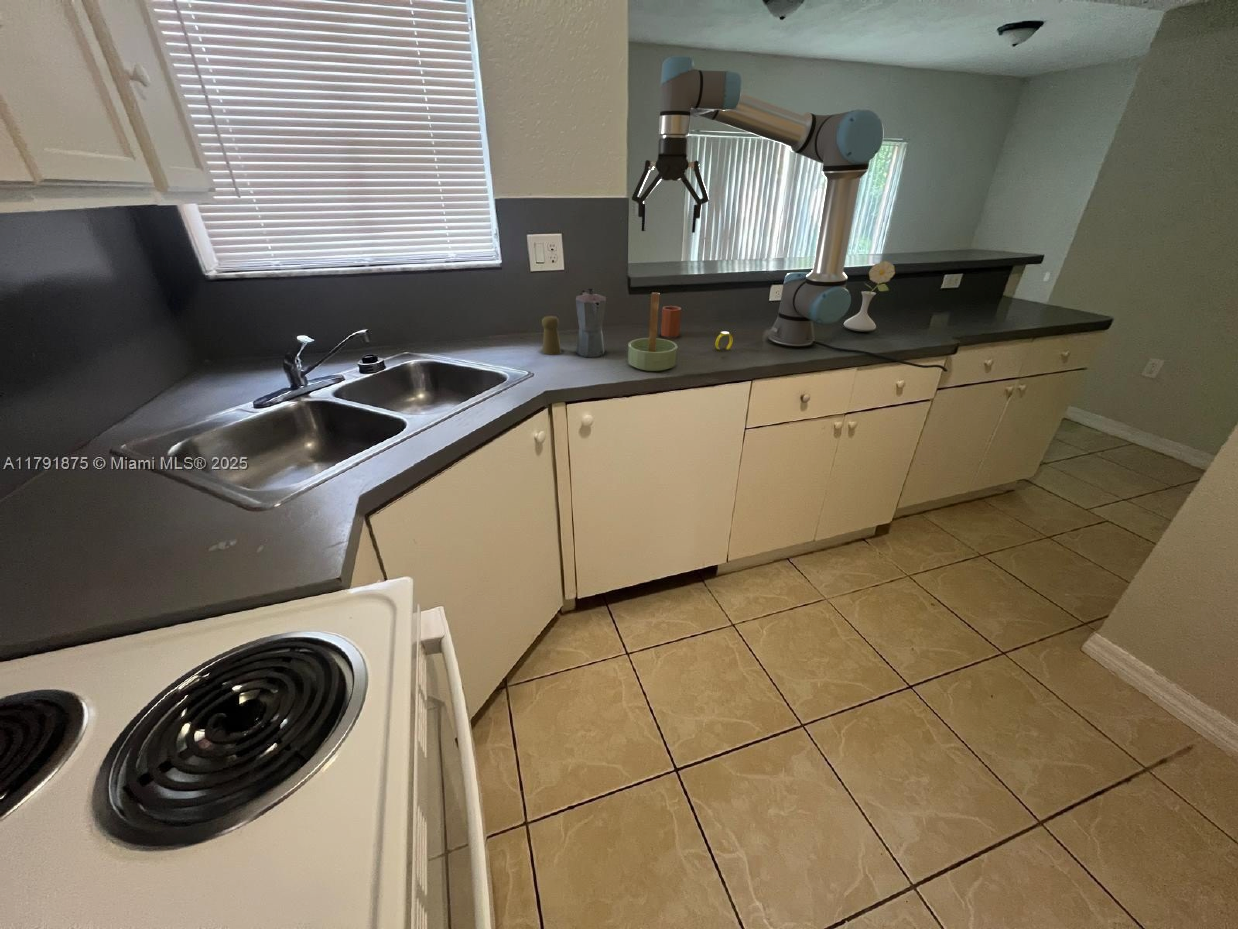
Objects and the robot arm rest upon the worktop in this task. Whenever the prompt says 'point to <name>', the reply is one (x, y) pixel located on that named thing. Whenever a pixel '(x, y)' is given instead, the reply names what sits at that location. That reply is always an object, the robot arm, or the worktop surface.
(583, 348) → the moka pot
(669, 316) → the utensil pot
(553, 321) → the olive pepper grinder
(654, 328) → the stirring stick
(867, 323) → the flower in vase
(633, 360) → the bowl
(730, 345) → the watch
